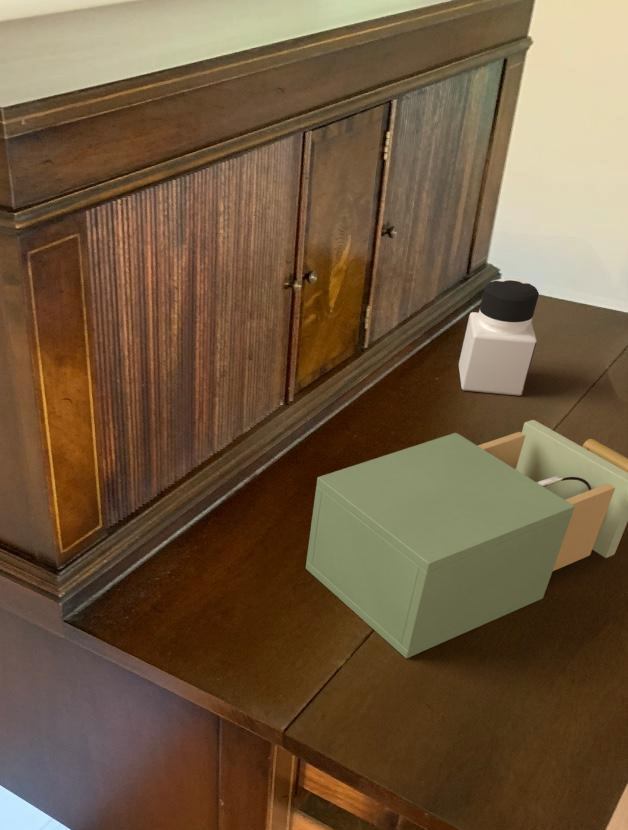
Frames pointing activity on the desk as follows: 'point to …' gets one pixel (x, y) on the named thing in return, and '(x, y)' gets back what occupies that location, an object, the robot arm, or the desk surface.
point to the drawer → (573, 485)
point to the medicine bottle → (500, 339)
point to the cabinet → (434, 540)
